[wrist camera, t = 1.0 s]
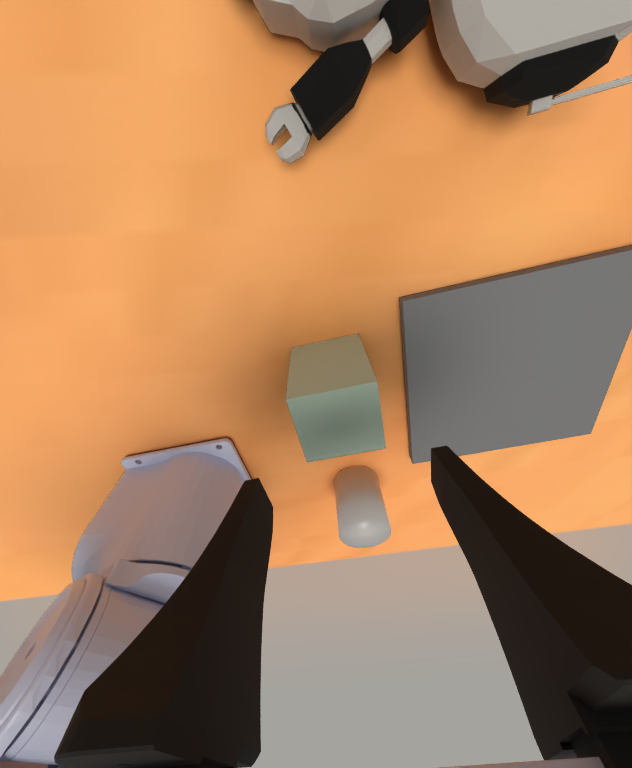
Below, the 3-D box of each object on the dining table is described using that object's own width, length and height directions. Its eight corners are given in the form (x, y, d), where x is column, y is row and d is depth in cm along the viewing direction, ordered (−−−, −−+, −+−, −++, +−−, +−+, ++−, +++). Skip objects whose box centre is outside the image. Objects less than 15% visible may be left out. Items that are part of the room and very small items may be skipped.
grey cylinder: (338, 497, 28) (343, 550, 23) (330, 469, 25) (334, 522, 21) (379, 490, 27) (393, 543, 23) (375, 462, 25) (388, 514, 21)
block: (307, 401, 21) (307, 462, 16) (291, 347, 19) (285, 399, 14) (366, 389, 21) (385, 448, 16) (358, 333, 19) (377, 381, 14)
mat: (409, 456, 25) (412, 463, 24) (399, 297, 17) (402, 301, 17) (582, 427, 23) (590, 433, 23) (649, 240, 16) (664, 242, 15)
